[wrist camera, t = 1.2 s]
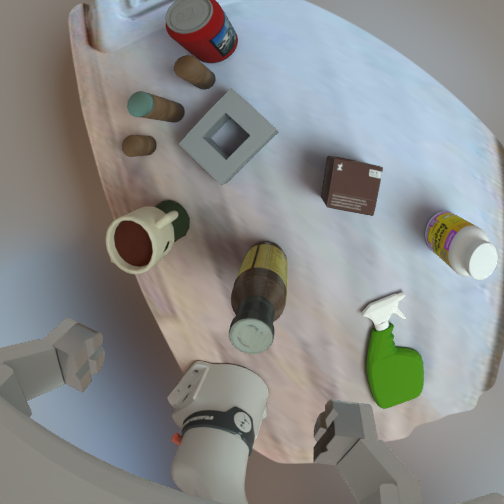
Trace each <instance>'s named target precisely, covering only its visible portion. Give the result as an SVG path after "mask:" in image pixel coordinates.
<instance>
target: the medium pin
mask: <svg viewBox="0 0 504 504" xmlns="http://www.w3.org/2000/svg"><path fill="white" fill-rule="evenodd" d="M174 71H175V74H176V75H177V76H179V77H180V78H182V79H184V80H186V81H188V82H189V83H191V84H193V85H195V86H196V87H198V88H200V89H209V88H211V87H212V86H213V85H214V83H215V75H214V73H213V72H211V71H210V70H209V69H208V68H207V67H206V66H204V65H203V64H202V63H201V62H200V61H198V60H197V59H196V58H195V57H193V56H190V55H186V56H183V57H181V58H179V59H178V60H177V61H176V63H175V66H174Z"/></svg>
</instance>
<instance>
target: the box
mask: <svg viewBox="0 0 504 504" xmlns="http://www.w3.org/2000/svg"><path fill="white" fill-rule="evenodd" d="M382 170H383V167H380V166H376V165H371V164H367V163H363V162H358V161H354V160H349V159H344V158H339V157H332V156H328V157H327V163H326V169H325V176H324V182H323V188H322V195H321V198H322V199H323V201H324V203H325V205H326V206H327V207H329V208H333V209H338V210H344V211H350V212H355V213H360V214H365V215H371V216H373V215H374V211H375V207H376V201H377V196H378V191H379V186H380V181H381V176H382Z"/></svg>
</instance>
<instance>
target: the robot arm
mask: <svg viewBox="0 0 504 504" xmlns="http://www.w3.org/2000/svg"><path fill="white" fill-rule="evenodd" d="M102 342H103V336H102V334H101V333H99V332H97V331H95V330H93V329H91V328H89V327H87V326H85V325H82V324H80V323H78V322H76V321H74V320H72V319H70V318H67V319H65V320H63V321H62V322H61V323H60V324H59V325H58V326H57V327H56V328H55V329H53V330H52V331H51V332H50V333H49V334H48V335H47V336H46V337H45V338H44V339H43V340H40V339H37V340H32V341H28V342H24V343H20V344H16V345H11V346H7V347H3V348H0V504H248V501H247V499H246V495H245V489H244V484H245V473H246V466H247V460H248V457H249V456H250V454H251V452H252V450H253V447H254V440H255V439H256V437H257V435H258V432H259V428H260V425H261V422H262V419H263V418H265V417H266V416H267V408H266V403H267V400H268V395H269V393H268V388H267V386H266V384H265V383H264V381H263V380H262V379H261V378H260V377H259V376H258V375H256V374H255V373H253V372H252V371H250V370H248V369H246V368H243V367H240V366H236V365H231V364H210V363H207V362H203V361H196V362H194V364H193V365H192V366H191V367H190V369H189V370H188V371H187V372H186V373H185V375H184V376H183V378H182V379H181V380H180V381H179V382H178V383H177V385H176V386H175V387H174V388H173V390H172V391H171V392H170V393H169V395H168V398H167V399H168V401H169V403H170V404H171V405H172V406H173V408H174V410H173V413H172V418H173V420H174V421H175V423H176V424H177V425H178V426H179V427H180V428H181V429H182V436H181V435H180V434H178V433H176V434H174V436H173V437H172V439H171V440H172V442H174V443H176V444H178V445H179V448H178V451H177V453H176V456H175V458H174V461H173V463H172V466H171V473H172V477H173V480H174V482H175V483H176V485H177V486H178V487H179V488H180V489H181V490H182V491H184V492H185V493H183V492H180V491H177V490H174V489H171V488H168V487H165V486H162V485H159V484H157V483H154V482H151V481H149V480H146V479H143V478H141V477H138V476H136V475H134V474H131V473H129V472H126V471H124V470H122V469H120V468H117V467H115V466H113V465H111V464H109V463H107V462H104V461H102V460H100V459H98V458H96V457H94V456H92V455H90V454H89V453H87V452H85V451H83V450H81V449H79V448H77V447H76V446H74V445H72V444H70V443H69V442H67V441H65V440H64V439H62V438H60V437H58V436H57V435H55V434H54V433H52V432H51V431H49V430H47V429H46V428H44V427H43V426H41V425H40V424H38V423H37V422H35V421H34V420H32V419H31V418H30V416H31V414H32V413H31V409H30V407H29V405H28V403H27V401H28V400H30V399H33V398H35V397H37V396H40V395H42V394H44V393H46V392H49V391H51V390H53V389H55V388H58V387H60V386H62V385H64V383H65V384H67V385H69V386H71V387H73V388H75V389H77V390H79V391H81V392H84V390H85V389H86V388H87V386H88V385H89V384H90V382H91V381H92V379H91V375H94V374H96V373H98V372H99V371H100V369H101V368H102V365H103V363H104V358H105V353H104V349H103V348H102V346H101V344H102ZM197 370H198V371H197ZM314 438H315V440H316V441H317V443H316V445H315V446H314V463H323V464H331V465H336V468H337V469H338V471H339V472H340V474H341V476H342V477H343V479H344V481H345V482H346V484H347V486H348V487H349V489H350V490H351V492H352V494H353V495H354V497H355V499H356V500H357V502H358V503H357V504H423V500H422V494H421V489H420V483H419V480H418V479H417V478H416V477H415V476H414V475H413V474H412V473H411V472H410V471H409V470H408V468H407V467H406V466H405V465H404V464H403V463H402V462H401V461H400V460H399V459H398V458H397V456H396V455H395V454H394V453H393V452H392V451H391V450H390V449H389V448H388V447H387V445H386V444H385V443H384V442H383V441H382V440H378V436H377V430H376V425H375V420H374V415H373V410H372V406H371V405H370V404H363V403H355V402H347V401H340V400H333V399H330V400H329V401H328V402H327V404H326V405H325V411H324V412H322V413H320V415H319V417H318V418H317V421H316V424H315V427H314ZM455 504H504V496H503V495H502V494H500V493H491V494H487V495H485V496H481V497H478V498H475V499H471V500H467V501H463V502H459V503H455Z"/></svg>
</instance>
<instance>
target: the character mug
mask: <svg viewBox="0 0 504 504" xmlns="http://www.w3.org/2000/svg"><path fill="white" fill-rule="evenodd" d="M188 229H189V217H188V214H187V212H186V210H185V209H184V208H183V207H182V206H181V205H180V204H179V203H176V202H174V201H171V200H169V201H162V202H161V203H159V204H158V205H156V206H155V207H142V208H139V209H137V210H135V211H132V212H130V213H128V214H126V215H123V216H122V217H120V218H118V219H116V220H114V221H113V222H112V223H111V225H110V226H109V228H108V229H107V234H106V239H105V240H106V248H107V251H108V254H109V256H110V258H111V262H113V263H115V264H116V265H117V266H118V267H119V268H120V269H122V270H124V271H126V272H127V273H131V274H141V273H144V272H146V271H148V270H149V269H150V268H151V267H152V266H154V265H155V264H156V263H157V262H158V261H160V260H161V259H162V258H163V257H164V256H165V255H166V254H168V253H169V251H170V250H171V249H172V247H173V244H174V242H175V241H177V239H178V240H179V238H181V237H183V236H185V235H186V233H187V231H188Z"/></svg>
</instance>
